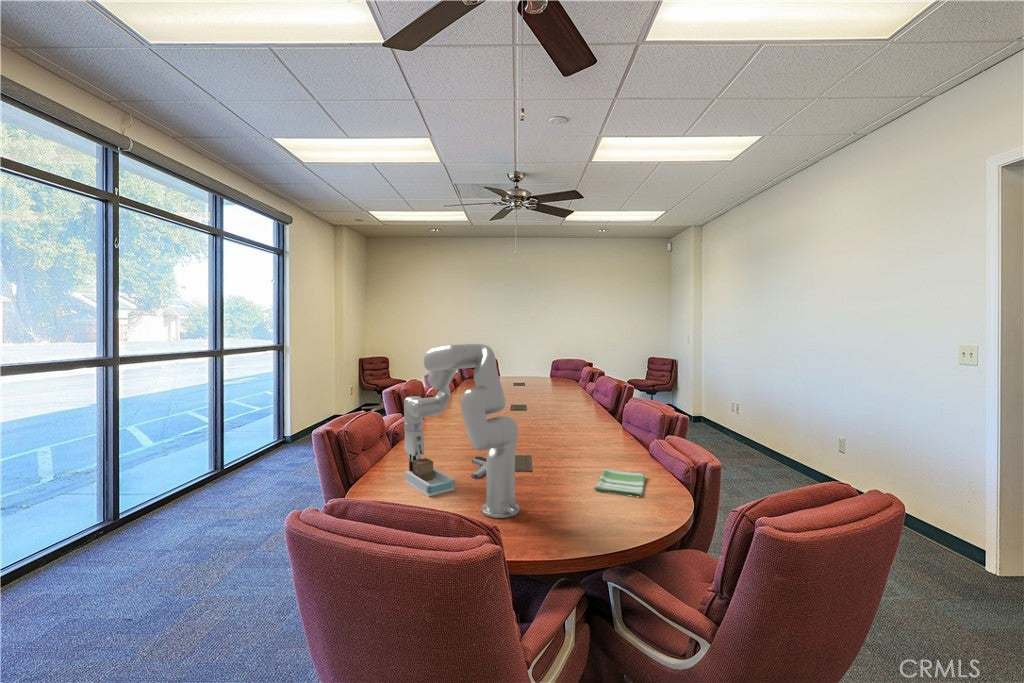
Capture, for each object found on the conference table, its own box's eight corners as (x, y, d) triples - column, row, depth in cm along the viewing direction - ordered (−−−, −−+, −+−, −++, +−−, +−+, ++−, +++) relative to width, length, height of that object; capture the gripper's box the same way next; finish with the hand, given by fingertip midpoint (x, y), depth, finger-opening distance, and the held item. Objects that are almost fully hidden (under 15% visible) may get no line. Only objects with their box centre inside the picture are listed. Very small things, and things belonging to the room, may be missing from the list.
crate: (433, 479, 174) (433, 461, 174) (419, 482, 170) (419, 464, 170) (426, 475, 179) (426, 457, 179) (412, 478, 175) (412, 460, 175)
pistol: (477, 454, 205) (504, 457, 200) (477, 460, 205) (504, 464, 200) (450, 469, 184) (479, 473, 178) (450, 476, 184) (479, 481, 178)
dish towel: (592, 492, 165) (592, 485, 165) (602, 473, 187) (603, 467, 187) (641, 499, 159) (641, 491, 159) (646, 479, 181) (646, 472, 181)
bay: (454, 489, 166) (454, 479, 166) (428, 496, 159) (428, 485, 159) (430, 475, 182) (430, 466, 182) (405, 481, 175) (405, 471, 175)
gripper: (430, 428, 177) (430, 473, 178) (414, 422, 189) (414, 464, 190) (412, 431, 173) (412, 477, 173) (397, 424, 185) (397, 467, 185)
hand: (413, 470), depth 182 cm, fingers closed
